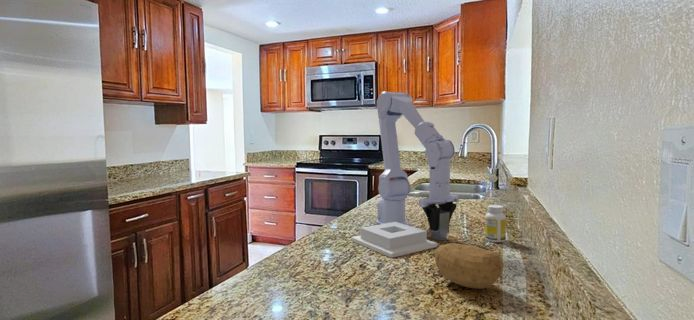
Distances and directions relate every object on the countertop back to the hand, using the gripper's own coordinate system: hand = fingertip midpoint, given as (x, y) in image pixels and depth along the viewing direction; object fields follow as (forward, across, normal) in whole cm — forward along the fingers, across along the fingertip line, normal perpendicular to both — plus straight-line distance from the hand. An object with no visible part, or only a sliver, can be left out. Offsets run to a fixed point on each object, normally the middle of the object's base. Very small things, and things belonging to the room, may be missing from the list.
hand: (439, 228), depth 106 cm
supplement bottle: (+3, +12, -10) cm, 16 cm away
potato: (+3, -20, -26) cm, 33 cm away
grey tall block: (+3, 0, 0) cm, 3 cm away
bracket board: (+3, -14, +4) cm, 15 cm away
